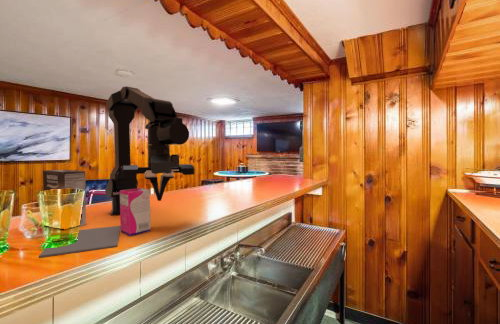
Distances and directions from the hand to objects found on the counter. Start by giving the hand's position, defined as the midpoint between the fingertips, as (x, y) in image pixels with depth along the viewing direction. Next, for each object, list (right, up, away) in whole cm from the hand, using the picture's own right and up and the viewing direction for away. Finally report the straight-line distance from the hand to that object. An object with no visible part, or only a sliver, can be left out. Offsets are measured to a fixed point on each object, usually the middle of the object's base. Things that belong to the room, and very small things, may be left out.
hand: (159, 200), depth 68 cm
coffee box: (-28, -8, +2) cm, 29 cm away
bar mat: (-14, -8, -9) cm, 19 cm away
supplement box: (-6, -8, -2) cm, 10 cm away
